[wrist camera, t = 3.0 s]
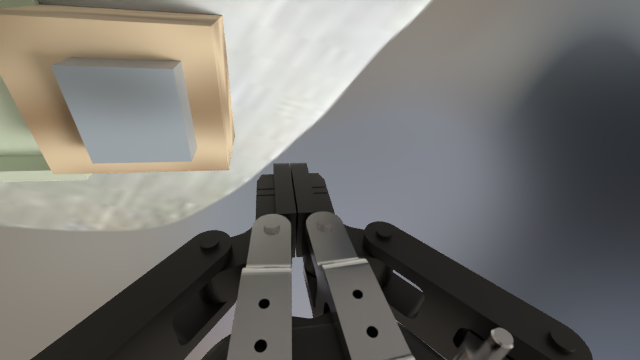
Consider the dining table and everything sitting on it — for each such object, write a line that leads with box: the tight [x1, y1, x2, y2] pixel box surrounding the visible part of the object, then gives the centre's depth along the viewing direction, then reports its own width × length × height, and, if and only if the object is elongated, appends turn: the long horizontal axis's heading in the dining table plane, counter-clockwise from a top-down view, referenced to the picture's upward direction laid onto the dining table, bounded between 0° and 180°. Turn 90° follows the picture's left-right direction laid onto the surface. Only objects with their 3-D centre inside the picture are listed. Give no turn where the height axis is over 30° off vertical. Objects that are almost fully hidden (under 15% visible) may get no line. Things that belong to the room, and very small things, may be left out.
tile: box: [50, 57, 197, 164], centre depth 18 cm, size 6×6×2 cm
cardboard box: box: [0, 4, 235, 174], centre depth 21 cm, size 10×12×6 cm
